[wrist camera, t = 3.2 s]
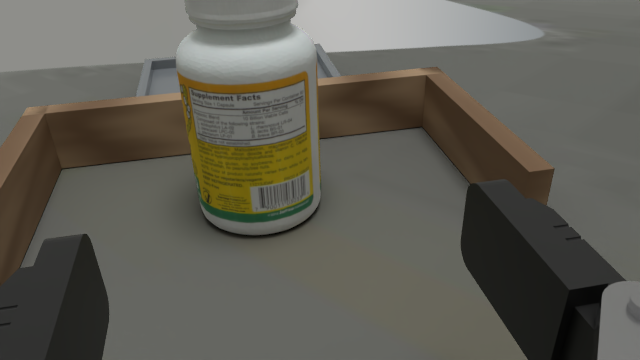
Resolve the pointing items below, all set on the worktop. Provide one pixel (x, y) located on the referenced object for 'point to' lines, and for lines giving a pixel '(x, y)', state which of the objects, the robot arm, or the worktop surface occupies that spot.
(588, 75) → the worktop surface
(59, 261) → the robot arm
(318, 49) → the tray
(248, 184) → the supplement bottle
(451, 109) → the wooden frame
